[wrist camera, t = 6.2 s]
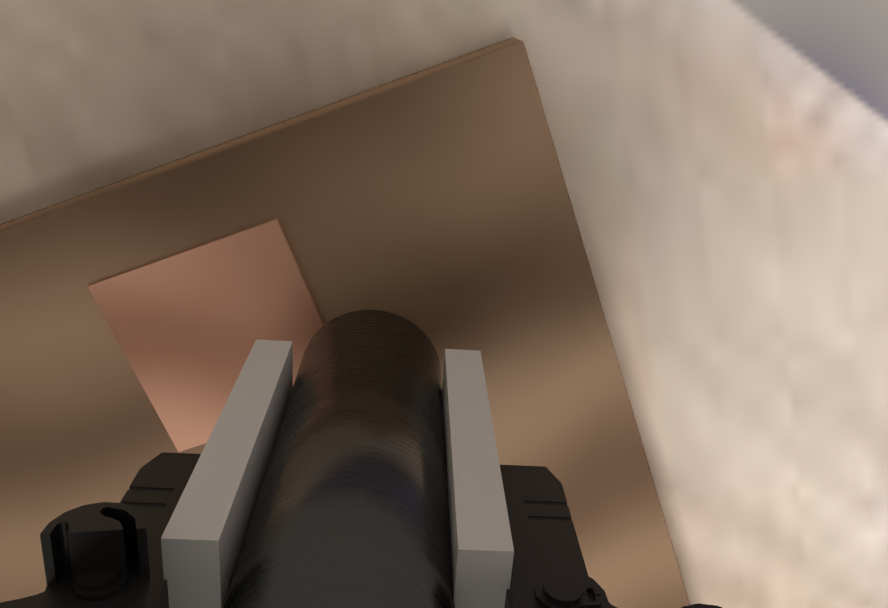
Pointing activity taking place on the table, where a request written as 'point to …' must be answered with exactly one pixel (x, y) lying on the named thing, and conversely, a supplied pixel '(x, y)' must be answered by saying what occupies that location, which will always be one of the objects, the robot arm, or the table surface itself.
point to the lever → (355, 478)
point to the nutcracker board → (323, 304)
